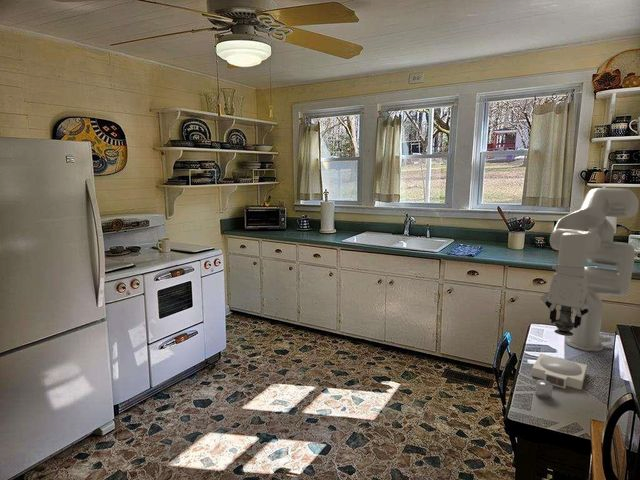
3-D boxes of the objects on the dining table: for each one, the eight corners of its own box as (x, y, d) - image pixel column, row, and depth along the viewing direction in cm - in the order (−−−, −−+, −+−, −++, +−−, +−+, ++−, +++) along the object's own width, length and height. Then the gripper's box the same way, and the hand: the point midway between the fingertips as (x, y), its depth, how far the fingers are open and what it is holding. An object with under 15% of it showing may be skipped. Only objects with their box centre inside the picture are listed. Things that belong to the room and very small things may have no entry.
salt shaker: (577, 337, 129) (581, 300, 128) (557, 335, 130) (560, 299, 129) (569, 330, 135) (573, 295, 133) (550, 328, 136) (554, 294, 134)
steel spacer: (546, 391, 124) (547, 379, 123) (554, 399, 120) (556, 387, 119) (532, 391, 124) (533, 379, 123) (540, 399, 120) (541, 387, 119)
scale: (539, 361, 145) (540, 351, 144) (586, 373, 136) (587, 363, 136) (529, 379, 132) (530, 368, 131) (580, 393, 123) (581, 382, 123)
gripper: (537, 268, 133) (532, 320, 135) (600, 277, 121) (593, 334, 124) (544, 265, 138) (539, 315, 141) (604, 273, 126) (597, 328, 129)
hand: (564, 324), depth 132 cm, fingers closed on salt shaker, 5 cm apart
